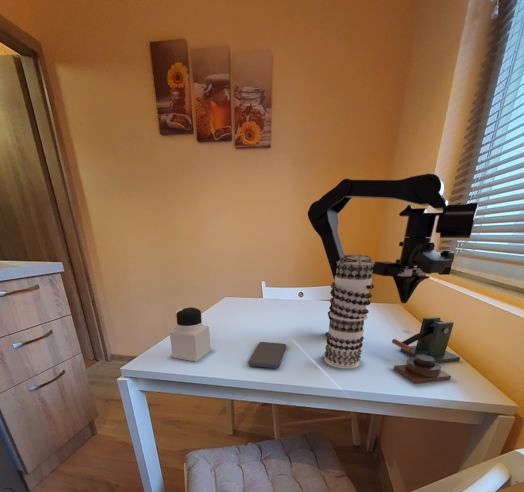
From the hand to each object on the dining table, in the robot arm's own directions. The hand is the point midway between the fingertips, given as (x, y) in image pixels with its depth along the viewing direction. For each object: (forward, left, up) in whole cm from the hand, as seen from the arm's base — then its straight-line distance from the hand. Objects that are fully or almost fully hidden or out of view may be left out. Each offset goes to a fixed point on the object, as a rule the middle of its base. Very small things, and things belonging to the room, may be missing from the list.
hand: (403, 302), depth 71 cm
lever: (+2, -6, -8) cm, 10 cm away
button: (-4, -14, -10) cm, 18 cm away
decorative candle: (-18, -4, -13) cm, 23 cm away
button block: (-4, -14, -13) cm, 20 cm away
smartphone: (-35, +3, -13) cm, 37 cm away
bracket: (+6, -6, -13) cm, 16 cm away
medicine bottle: (-54, +8, -13) cm, 56 cm away
